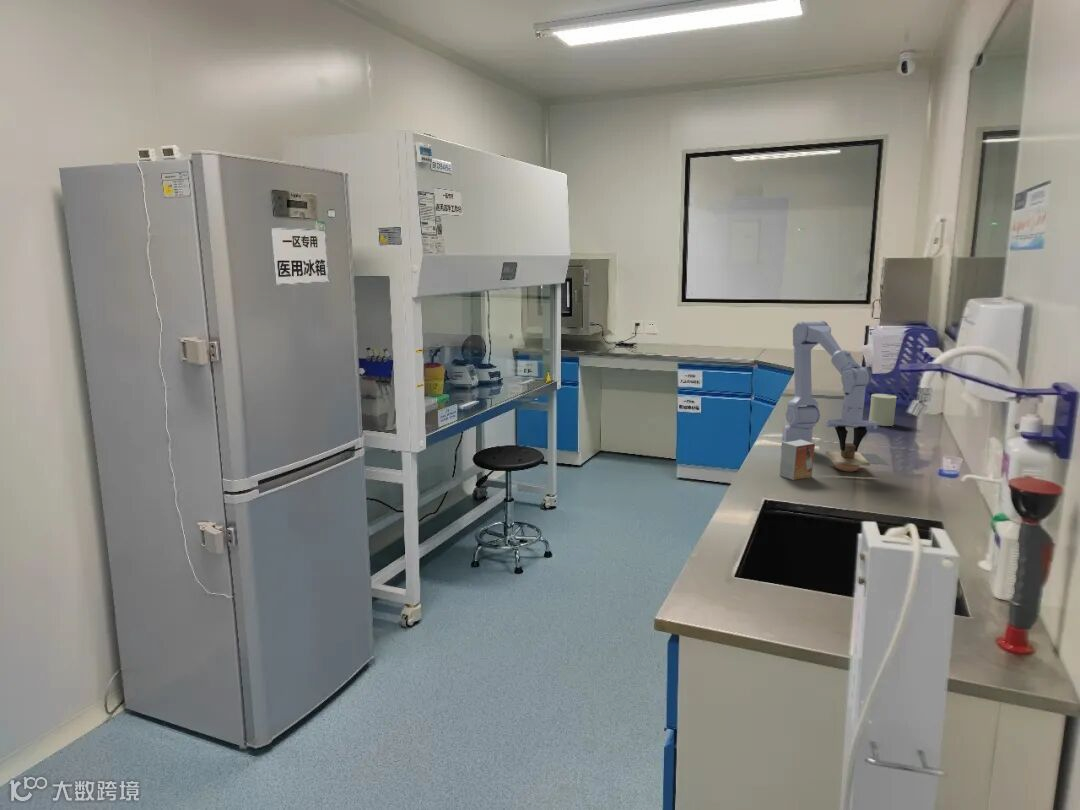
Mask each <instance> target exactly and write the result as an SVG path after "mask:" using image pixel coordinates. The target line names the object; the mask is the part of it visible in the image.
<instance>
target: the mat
mask: <svg viewBox="0 0 1080 810" xmlns="http://www.w3.org/2000/svg"><path fill="white" fill-rule="evenodd" d="M859 453H860V452H859ZM860 454H861V455H862V456H863V457H864V458H865V459H866V460H867V461H868V462H869V463H870V465H889V466H890V464H889V463H888V462H887V461H885V460H884V459H883V458H882V457H880V456H879V455H878V454H877V453H860Z"/></svg>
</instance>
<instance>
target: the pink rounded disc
mask: <svg viewBox="0 0 1080 810" xmlns="http://www.w3.org/2000/svg"><path fill="white" fill-rule="evenodd" d="M860 466H861V465H840V464H834V468H835V469H837V470H839V471H842V472H851V473H853V472H855V471H856V472H857V471H859V470H860Z"/></svg>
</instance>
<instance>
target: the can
mask: <svg viewBox="0 0 1080 810" xmlns="http://www.w3.org/2000/svg"><path fill="white" fill-rule="evenodd" d="M870 396H871V397H870V407H869V415H868V421H875V422H877V423H878V424H877V425H882V426H892V425H894V424H895V415H896V413H895V412H896V404H897V398H898V396H896V395H893V394H887V393H872V394H871V395H870ZM894 426H895V425H894ZM892 427H893V426H892Z"/></svg>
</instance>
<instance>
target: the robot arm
mask: <svg viewBox="0 0 1080 810" xmlns="http://www.w3.org/2000/svg"><path fill="white" fill-rule="evenodd" d="M794 325H795V326H794V327H793V328H792V346H793V367H794V368H793V371H794V373H793V375H794V376H793V377H794V397H793V398H792V399H790V401H788V402H787V409H786V412H785V419H786V421H787V423H788V424H787V425H784V426H783V427H782V433H781V445H780V448H781V449H782V442H790V441H796V440H804V441H808V442H811V443H813V433H814V427H816V425H817V424H819V423H818V422H819V421H820V419H821V412H820V409H819V402H818V401H817V400H816V399H815V398H813V396H812V394H813V390H812V388H813V386H812V350H813V349H814V347H816V346H818V345H820V346H821V347H822V348H823V349H824V350H825V351H826V352H827V353H828V355H830V356H831V361H830V362H831V364H832V365H833V366H834V368H835V369H836V370H837V372H839V374H840V375H841V376H840V377H841V378H840V380H841V383H842V390H843V403H842V410H841V419H839V418H838V419H825V425H824V426H825V427H826V428H834V429H835V431H836V435H837V438H838V440H839V441H838V442H839V446H840V447H839V449H840V451H845V443H847V436H848V432H849V431H848V429H847V428H851V429H852V428H853V442H852V443H853V444H854V445H855V446H856V447H855V452H857V453H858V448H859V446H860V444H861V443H862V440H863V439H864V437H865V436H866V434H868V429H873V430H877V429H878V426H877V424H878V423H877V422H875V421H869V420H863V416H864V415H863V413H864V408H865V399H866V398H865V396H866V388H867V387H868V386H869V385H870V383H871V381H872V374H871V371H870V369H869V368H868V367H866V366H862V365H860V364H859V363H858V362H857V360H855V358H854V357H853V356H852V353H851V352H850V351H848V350H844V349H843V350H842V348H841V347H840V345H839V344H838V342H837V341H836V339H835V338H834V336H833V334H832V327H831V325H829V324H828V322H827V321H825V320H820V321H797V323H796V324H794Z"/></svg>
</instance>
